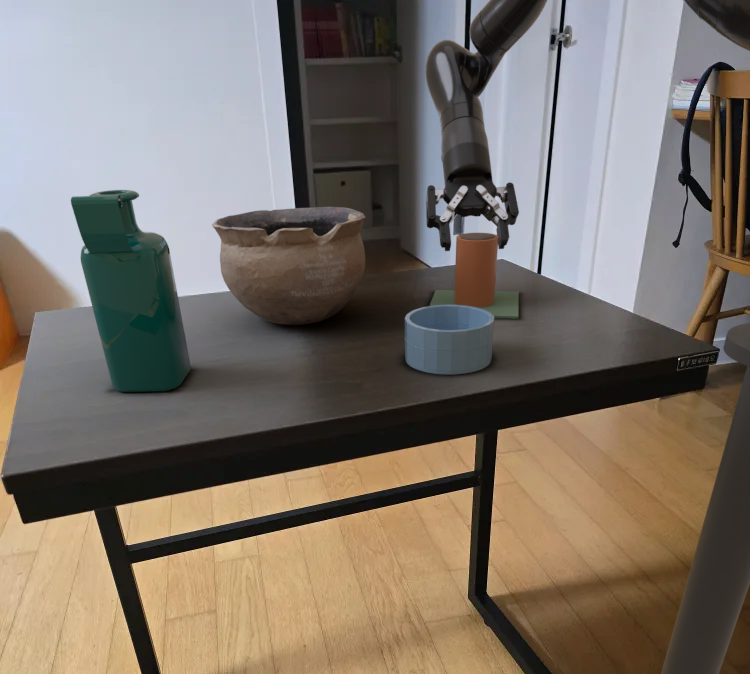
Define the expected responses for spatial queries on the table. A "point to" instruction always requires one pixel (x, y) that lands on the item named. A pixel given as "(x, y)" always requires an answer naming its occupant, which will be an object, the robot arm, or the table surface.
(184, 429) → the table surface
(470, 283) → the small pot
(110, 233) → the green detergent bottle
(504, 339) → the table surface
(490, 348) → the big pot
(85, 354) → the table surface
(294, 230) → the ceramic bowl
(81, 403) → the table surface
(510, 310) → the mat
